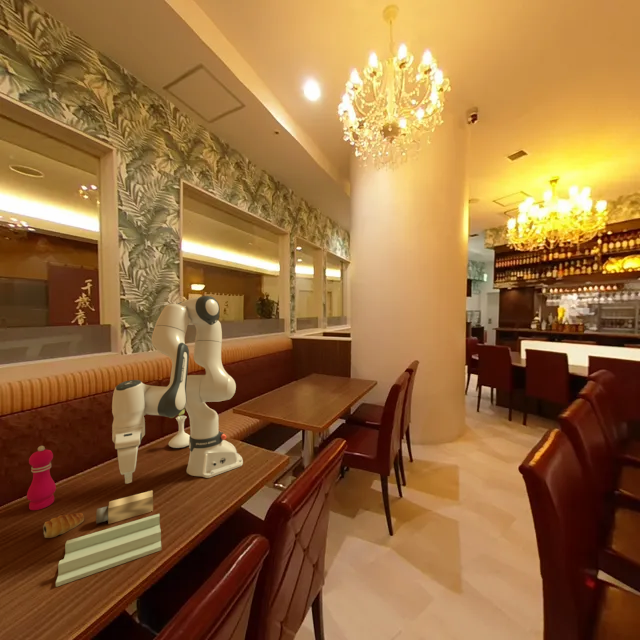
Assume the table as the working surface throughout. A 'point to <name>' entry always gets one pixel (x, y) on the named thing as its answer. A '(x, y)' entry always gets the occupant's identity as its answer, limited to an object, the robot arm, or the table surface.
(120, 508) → the grey-capped wooden block
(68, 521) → the pastry
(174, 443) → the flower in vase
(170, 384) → the robot arm
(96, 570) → the grooved moulding strip
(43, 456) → the pepper mill
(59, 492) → the table surface
